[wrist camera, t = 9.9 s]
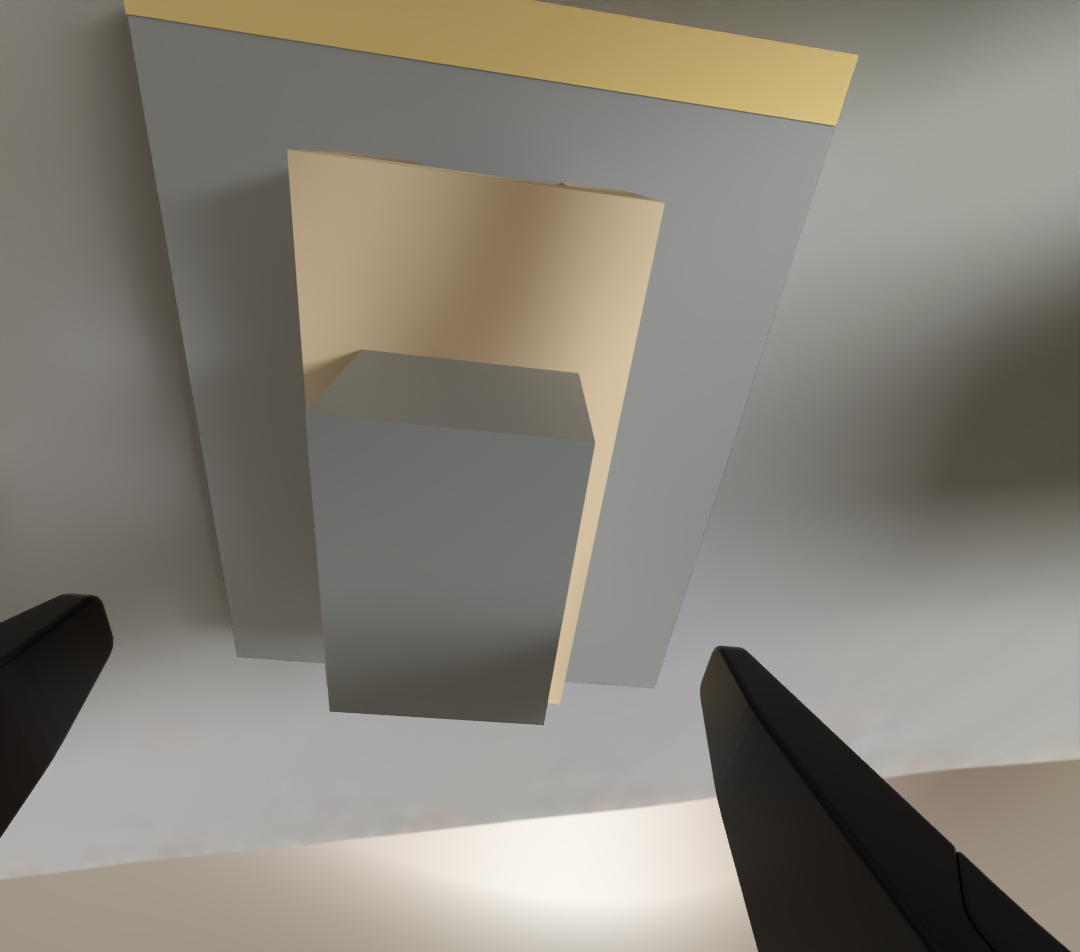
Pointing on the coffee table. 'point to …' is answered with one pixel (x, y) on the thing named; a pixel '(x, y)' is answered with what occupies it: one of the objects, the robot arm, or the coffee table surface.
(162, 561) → the coffee table surface
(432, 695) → the gray rectangular block
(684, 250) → the dock
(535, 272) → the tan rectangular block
